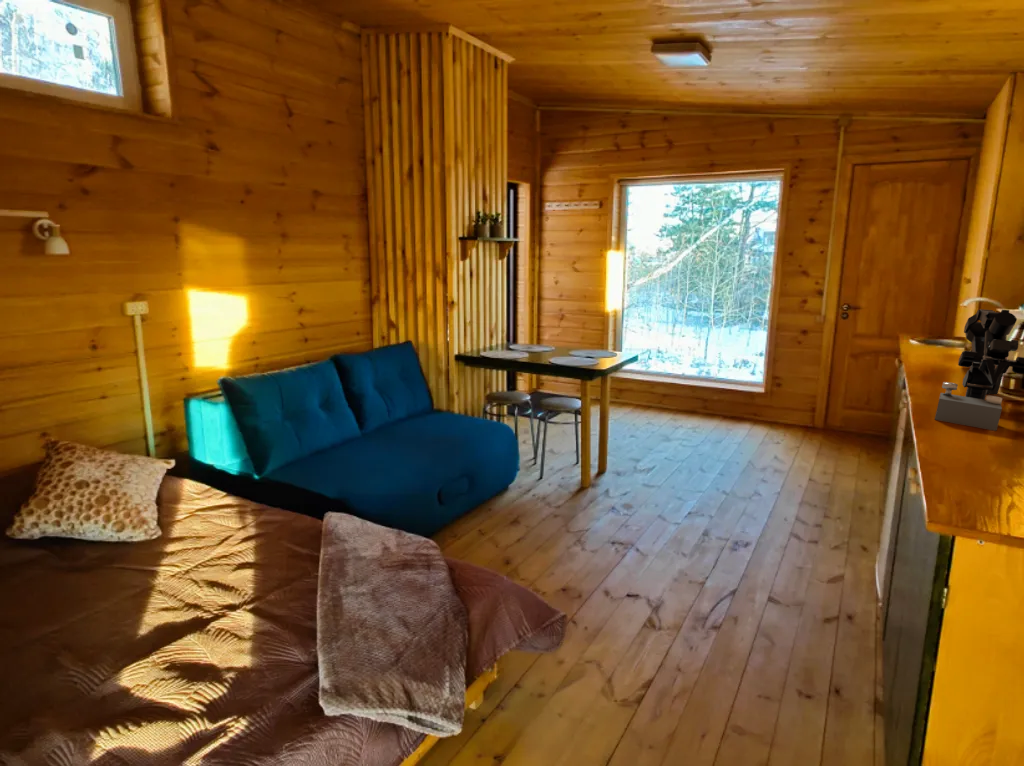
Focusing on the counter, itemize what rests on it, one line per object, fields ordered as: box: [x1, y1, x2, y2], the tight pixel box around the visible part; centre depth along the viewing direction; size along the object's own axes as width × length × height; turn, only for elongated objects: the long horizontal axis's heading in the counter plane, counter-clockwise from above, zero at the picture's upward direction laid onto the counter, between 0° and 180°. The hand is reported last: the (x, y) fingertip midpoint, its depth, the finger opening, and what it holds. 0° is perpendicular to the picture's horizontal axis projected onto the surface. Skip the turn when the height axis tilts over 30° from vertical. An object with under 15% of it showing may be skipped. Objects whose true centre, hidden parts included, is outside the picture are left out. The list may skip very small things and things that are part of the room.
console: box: [934, 392, 1003, 432], centre depth 203 cm, size 10×16×7 cm, turn 55°
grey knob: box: [941, 381, 959, 396], centre depth 207 cm, size 4×4×4 cm
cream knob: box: [985, 395, 1003, 405], centre depth 201 cm, size 4×4×4 cm
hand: (993, 383), depth 204 cm, fingers closed
